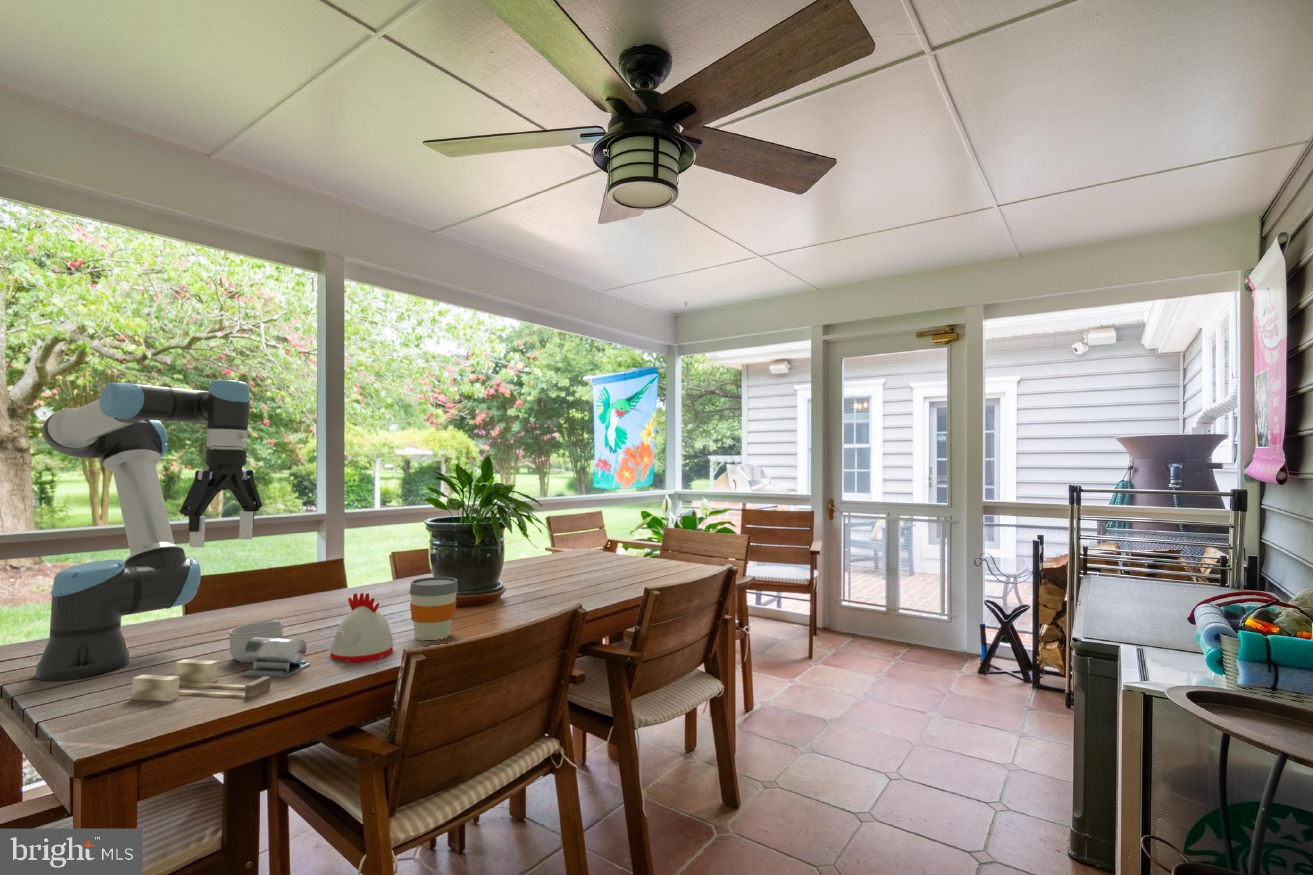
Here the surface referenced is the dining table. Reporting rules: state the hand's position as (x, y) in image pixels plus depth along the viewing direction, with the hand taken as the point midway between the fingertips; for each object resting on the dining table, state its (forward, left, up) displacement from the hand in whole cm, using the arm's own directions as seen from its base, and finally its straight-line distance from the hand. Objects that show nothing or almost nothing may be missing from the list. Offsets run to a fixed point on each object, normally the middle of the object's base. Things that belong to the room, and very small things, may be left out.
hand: (222, 543), depth 135 cm
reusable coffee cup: (+34, +34, -29) cm, 56 cm away
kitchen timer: (+24, +17, -29) cm, 41 cm away
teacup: (+2, +11, -29) cm, 31 cm away
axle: (+12, +2, -26) cm, 29 cm away
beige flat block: (+8, -11, -29) cm, 32 cm away
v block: (+13, +2, -29) cm, 32 cm away
